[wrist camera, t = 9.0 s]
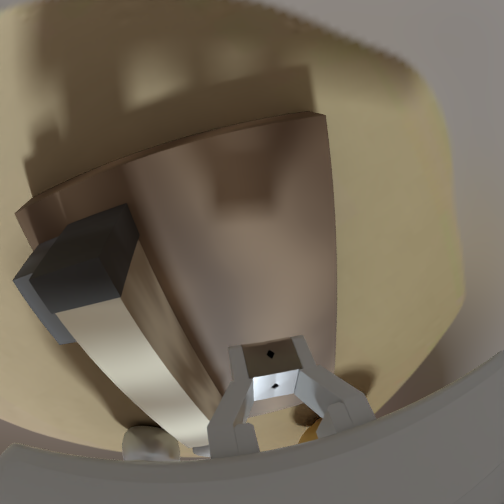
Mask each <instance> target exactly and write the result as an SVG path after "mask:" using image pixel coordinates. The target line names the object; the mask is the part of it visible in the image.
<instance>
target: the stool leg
mask: <svg viewBox="0 0 504 504" xmlns="http://www.w3.org/2000/svg"><path fill="white" fill-rule="evenodd" d="M139 236H140V234H139V232H138V229H137V227H136V224H135V222H134V220H133V217H132V215H131V212H130V210H129V207H128V205H127V203H125V204H122V205H119V206H116V207H113V208H110V209H108V210H105V211H102V212H99V213H97V214H94V215H91V216H88V217H86V218H83V219H81V220H78V221H75V222H73V223H70V224H68V225H67V226H66V228H65V229H64V230H63V231H62V233H61V234H60V235H59V237H58V238H57V239H56V241H55V242H54V243H53V245H52V246H51V248H50V249H49V250H48V252H47V253H46V255H45V256H44V258H43V259H42V260H41V262H40V263H39V265H38V266H37V268H36V269H35V271H34V272H33V274H32V275H31V277H30V279H29V282H30V283H31V285H32V286H33V288H34V289H35V291H36V292H37V294H38V295H39V297H40V298H41V300H42V301H43V303H44V304H45V306H46V307H47V309H48V310H49V311H50V313H51V314H54V313H55V314H56V315H57V316H58V318H59V319H60V321H61V322H62V323H63V325H64V326H65V327H66V328H67V330H68V331H69V332H70V334H71V335H72V336H73V337H74V339H75V340H76V341H77V342H78V343H79V345H80V346H81V347H82V348H83V349H84V351H85V352H86V353H87V354H88V355H89V356H90V358H91V359H92V360H93V361H94V362H95V363H96V364H97V365H98V367H99V368H100V369H101V370H102V371H103V372H104V373H105V374H106V375H107V376H108V377H109V378H110V379H111V380H112V382H113V383H114V384H115V385H116V386H117V387H118V388H119V389H120V390H121V391H122V392H123V393H124V394H125V395H127V396H128V397H129V398H130V399H131V400H132V401H133V402H134V403H135V404H136V405H137V406H138V407H139V408H140V409H141V410H143V411H144V412H145V413H146V414H147V415H148V416H149V417H150V418H152V419H153V420H154V421H155V422H156V423H157V424H159V425H160V426H161V427H162V428H163V429H165V430H166V431H167V432H168V433H170V434H171V435H172V436H173V437H175V438H176V439H177V440H178V441H180V442H181V443H182V444H184V445H185V446H186V447H188V448H192V447H193V453H194V454H196V455H200V456H207V457H211V456H210V449H209V442H208V434H207V426H208V424H209V422H210V420H211V418H212V416H213V414H214V413H215V411H216V409H217V407H218V405H219V403H220V401H221V399H222V396H221V394H220V393H219V391H218V390H217V388H216V386H215V385H214V383H213V382H212V380H211V378H210V377H209V375H208V373H207V372H206V370H205V368H204V367H203V365H202V363H201V361H200V360H199V358H198V356H197V355H196V353H195V351H194V349H193V348H192V346H191V344H190V342H189V340H188V339H187V337H186V335H185V333H184V331H183V329H182V328H181V326H180V324H179V322H178V320H177V318H176V316H175V314H174V312H173V311H172V309H171V307H170V305H169V303H168V301H167V299H166V297H165V295H164V293H163V291H162V289H161V287H160V285H159V283H158V280H157V278H156V276H155V274H154V272H153V270H152V268H151V266H150V264H149V261H148V259H147V257H146V255H145V253H144V250H143V248H142V246H141V244H140V241H139Z"/></svg>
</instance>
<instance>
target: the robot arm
mask: <svg viewBox="0 0 504 504" xmlns="http://www.w3.org/2000/svg"><path fill="white" fill-rule="evenodd" d="M228 352H229V360H230V368H231V375H232V380H233V381H232V382H230V384H229V386H228V388H227V390H226V392H225V394H224V395H223V397H222V399H221V401H220V403H219V405H218V407H217V409H216V411H215V413H214V414H213V416H212V418H211V420H210V422H209V424H208V426H207V434H208V442H209V449H210V456H211V459H203V460H189V461H123V460H110V459H100V458H91V457H83V456H77V455H70V454H64V453H59V452H54V451H49V450H44V449H40V448H35V447H32V446H28V445H24V444H20V443H13V444H11V445H10V446H9V447H8V448H7V449H6V450H5V451H4V452H3V453H2V454H1V455H0V504H504V350H503V351H500V352H498V353H497V354H496V355H494V356H493V357H492V358H490V359H489V360H487V361H486V362H484V363H483V364H481V365H480V366H478V367H477V368H475V369H474V370H472V371H470V372H469V373H467V374H466V375H464V376H462V377H461V378H459V379H457V380H456V381H454V382H452V383H451V384H449V385H447V386H445V387H444V388H442V389H440V390H438V391H436V392H434V393H432V394H430V395H428V396H426V397H424V398H423V399H420V400H418V401H416V402H414V403H412V404H410V405H408V406H406V407H404V408H401V409H399V410H397V411H395V412H392V413H390V414H388V415H385V416H383V417H380V418H378V419H376V417H375V415H374V413H373V411H372V409H371V407H370V405H369V403H368V401H367V399H366V397H365V395H364V393H362V392H361V391H359V390H358V389H356V388H355V387H353V386H351V385H350V384H348V383H347V382H345V381H344V380H342V379H341V378H339V377H337V376H336V375H334V374H333V373H331V372H330V371H328V370H327V369H325V368H324V367H322V366H321V365H317V366H316V363H315V361H314V359H313V356H312V354H311V352H310V349H309V347H308V345H307V342H306V340H305V338H304V336H303V335H297V336H292V337H285V338H280V339H275V340H269V341H265V342H260V343H252V344H244V345H236V346H228ZM293 393H294V394H295V395H296V396H297V397H298V398H299V399H300V400H301V401H303V402H304V403H305V404H306V405H307V406H308V407H309V408H311V409H312V410H313V411H314V412H315V413H317V414H318V415H319V416H320V417H321V418H323V419H322V421H321V423H320V425H319V427H318V429H317V431H316V433H317V436H318V439H315V440H312V441H308V442H304V443H300V444H296V445H292V446H288V447H283V448H278V449H274V450H269V451H263V452H260V450H259V446H258V442H257V438H256V434H255V430H254V426H253V425H252V424H250V423H246V421H247V418H248V416H249V413H250V411H251V408H252V406H253V403H254V401H257V400H262V399H267V398H272V397H277V396H283V395H288V394H293Z"/></svg>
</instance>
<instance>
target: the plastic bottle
mask: <svg viewBox="0 0 504 504" xmlns="http://www.w3.org/2000/svg"><path fill="white" fill-rule="evenodd" d="M122 450H123V457H124V461H180V449H179V445H178V441H177V439H176V438H175V437H173V436H172V435H171V434H170V433H168V432H167V431H166V430H165V429H161V428H158V427H152V426H134V427H131V428H129V429H128V430H127V432H126V433H125V434H124V438H123V442H122Z"/></svg>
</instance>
